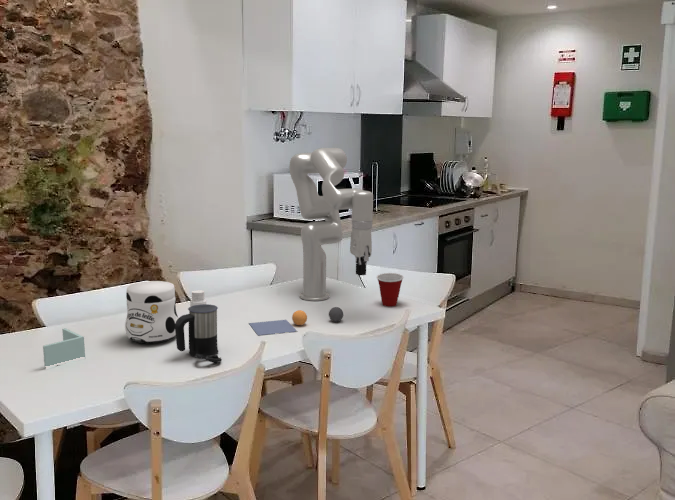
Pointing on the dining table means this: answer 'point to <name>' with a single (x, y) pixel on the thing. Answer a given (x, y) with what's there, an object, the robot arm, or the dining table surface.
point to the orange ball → (299, 317)
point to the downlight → (197, 298)
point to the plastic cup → (389, 288)
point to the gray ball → (336, 314)
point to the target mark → (272, 327)
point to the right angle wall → (64, 349)
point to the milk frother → (199, 332)
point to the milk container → (151, 312)
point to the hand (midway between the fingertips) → (360, 274)
